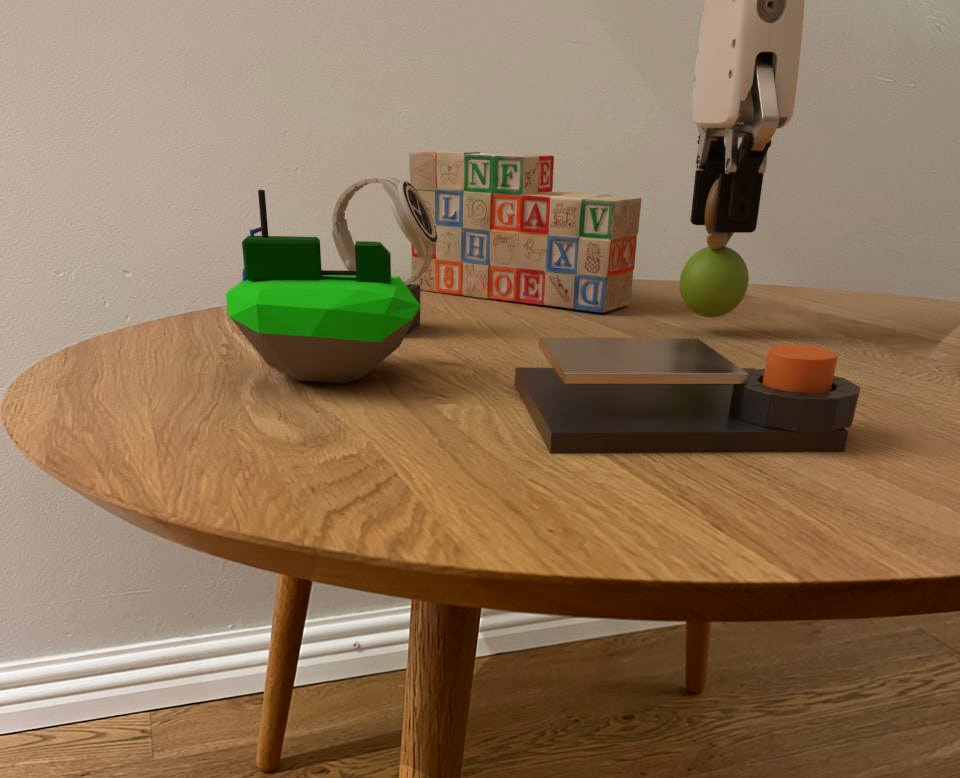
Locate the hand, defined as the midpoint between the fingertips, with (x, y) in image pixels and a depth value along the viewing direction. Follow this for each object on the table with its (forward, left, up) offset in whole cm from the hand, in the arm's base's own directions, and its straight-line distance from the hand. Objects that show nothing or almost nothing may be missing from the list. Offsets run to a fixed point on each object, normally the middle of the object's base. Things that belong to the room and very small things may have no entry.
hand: (721, 225), depth 73 cm
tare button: (+5, +29, -6) cm, 30 cm away
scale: (+11, +25, -8) cm, 28 cm away
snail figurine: (0, 0, -7) cm, 7 cm away
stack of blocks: (+14, -16, -8) cm, 23 cm away
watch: (+27, 0, -8) cm, 28 cm away
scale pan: (+13, +25, -5) cm, 28 cm away
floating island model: (+31, +16, -8) cm, 35 cm away
